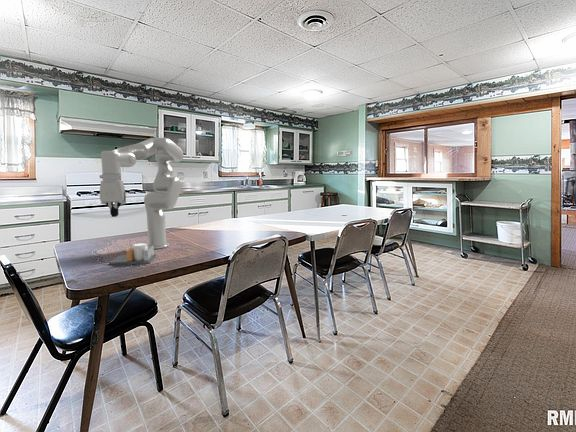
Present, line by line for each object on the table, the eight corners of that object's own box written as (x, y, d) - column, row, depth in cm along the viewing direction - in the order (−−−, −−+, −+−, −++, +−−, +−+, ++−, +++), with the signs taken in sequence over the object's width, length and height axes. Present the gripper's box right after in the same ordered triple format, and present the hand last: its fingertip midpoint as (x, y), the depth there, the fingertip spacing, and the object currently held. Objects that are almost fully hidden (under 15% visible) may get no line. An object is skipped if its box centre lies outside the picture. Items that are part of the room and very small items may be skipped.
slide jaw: (126, 261, 146) (126, 250, 145) (134, 255, 156) (133, 245, 155) (131, 260, 146) (130, 250, 145) (138, 255, 156) (137, 245, 155)
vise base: (109, 264, 144) (108, 252, 143) (119, 257, 156) (118, 245, 155) (149, 263, 147) (149, 251, 146) (156, 256, 158) (156, 245, 157)
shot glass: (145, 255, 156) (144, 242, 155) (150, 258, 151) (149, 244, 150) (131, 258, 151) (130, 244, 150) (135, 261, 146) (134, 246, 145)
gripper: (91, 177, 139) (94, 217, 142) (126, 178, 142) (128, 217, 144) (98, 177, 147) (101, 215, 149) (131, 177, 149) (134, 215, 152)
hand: (114, 216), depth 147 cm, fingers closed
